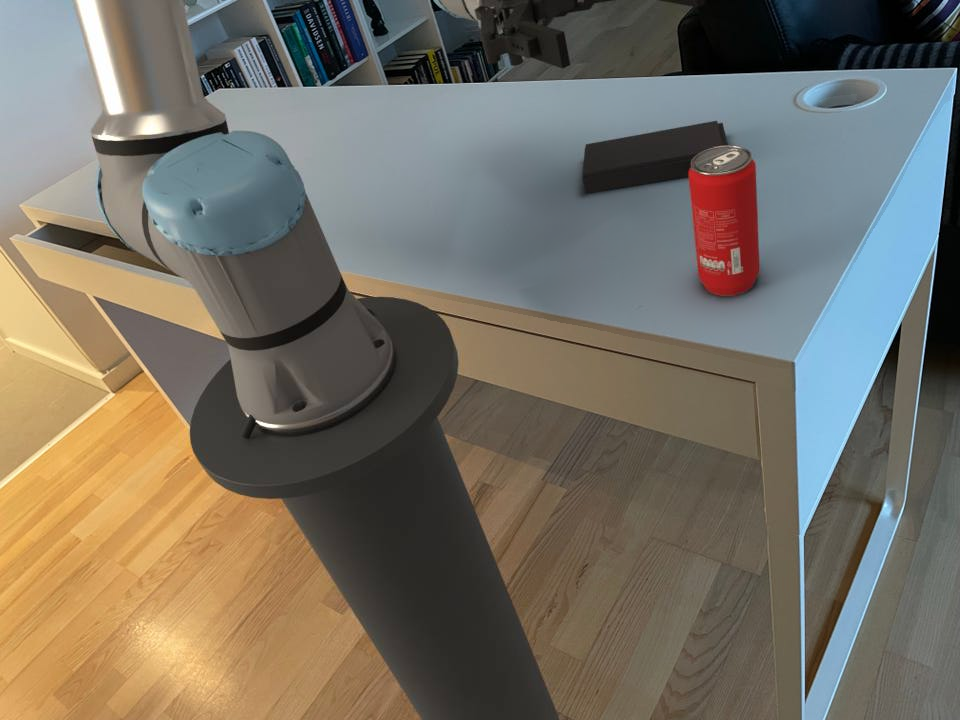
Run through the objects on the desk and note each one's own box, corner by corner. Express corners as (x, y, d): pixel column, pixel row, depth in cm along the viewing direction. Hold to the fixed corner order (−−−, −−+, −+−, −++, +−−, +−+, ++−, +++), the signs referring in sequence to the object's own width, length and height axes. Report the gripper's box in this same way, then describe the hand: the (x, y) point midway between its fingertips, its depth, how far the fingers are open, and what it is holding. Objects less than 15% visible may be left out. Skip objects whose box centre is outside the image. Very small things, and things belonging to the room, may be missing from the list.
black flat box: (723, 138, 90) (722, 118, 88) (730, 170, 84) (729, 148, 82) (587, 162, 94) (584, 143, 92) (585, 193, 88) (581, 174, 86)
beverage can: (687, 282, 70) (674, 163, 63) (732, 258, 71) (724, 138, 64) (726, 306, 66) (717, 182, 59) (773, 280, 67) (769, 154, 60)
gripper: (618, -13, 84) (755, 10, 68) (417, 74, 79) (513, 122, 63) (607, -89, 79) (751, -84, 63) (394, -2, 74) (490, 29, 58)
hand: (633, 19), depth 63 cm, fingers open, 13 cm apart
